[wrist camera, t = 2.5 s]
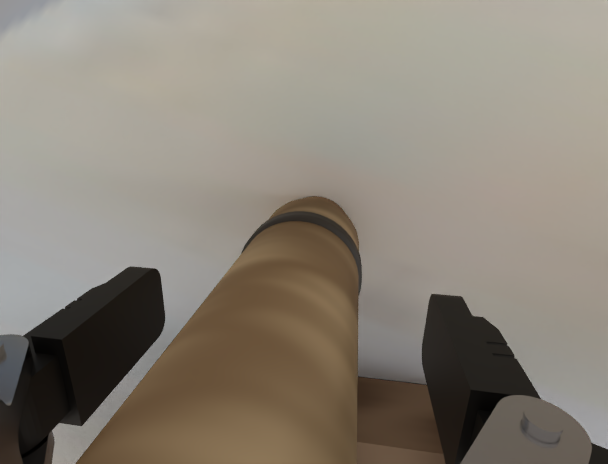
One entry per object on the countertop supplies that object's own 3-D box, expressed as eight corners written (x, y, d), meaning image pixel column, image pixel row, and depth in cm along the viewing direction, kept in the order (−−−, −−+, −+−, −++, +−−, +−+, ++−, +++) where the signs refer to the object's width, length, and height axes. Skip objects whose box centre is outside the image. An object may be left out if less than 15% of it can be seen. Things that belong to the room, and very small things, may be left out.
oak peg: (364, 188, 16) (385, 550, 3) (357, 274, 18) (350, 779, 4) (271, 183, 17) (-56, 473, 4) (271, 267, 18) (37, 700, 5)
